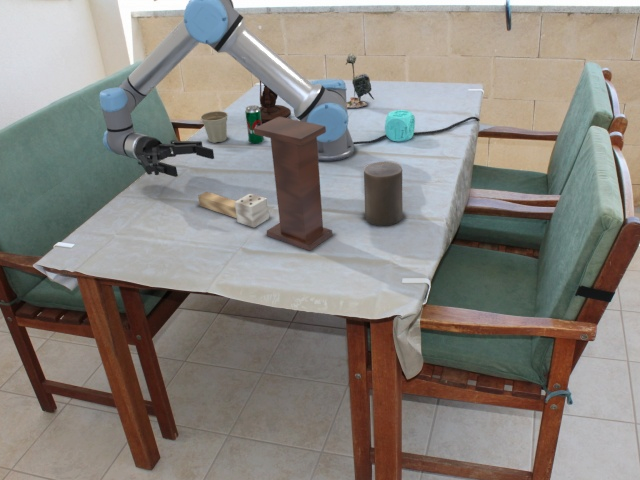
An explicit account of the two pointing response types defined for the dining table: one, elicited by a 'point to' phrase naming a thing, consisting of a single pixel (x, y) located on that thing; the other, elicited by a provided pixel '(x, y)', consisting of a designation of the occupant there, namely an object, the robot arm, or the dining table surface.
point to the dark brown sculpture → (271, 106)
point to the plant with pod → (358, 85)
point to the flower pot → (215, 125)
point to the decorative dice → (400, 125)
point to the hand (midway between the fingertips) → (194, 162)
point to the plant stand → (296, 181)
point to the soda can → (253, 123)
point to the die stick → (238, 207)
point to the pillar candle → (383, 193)
